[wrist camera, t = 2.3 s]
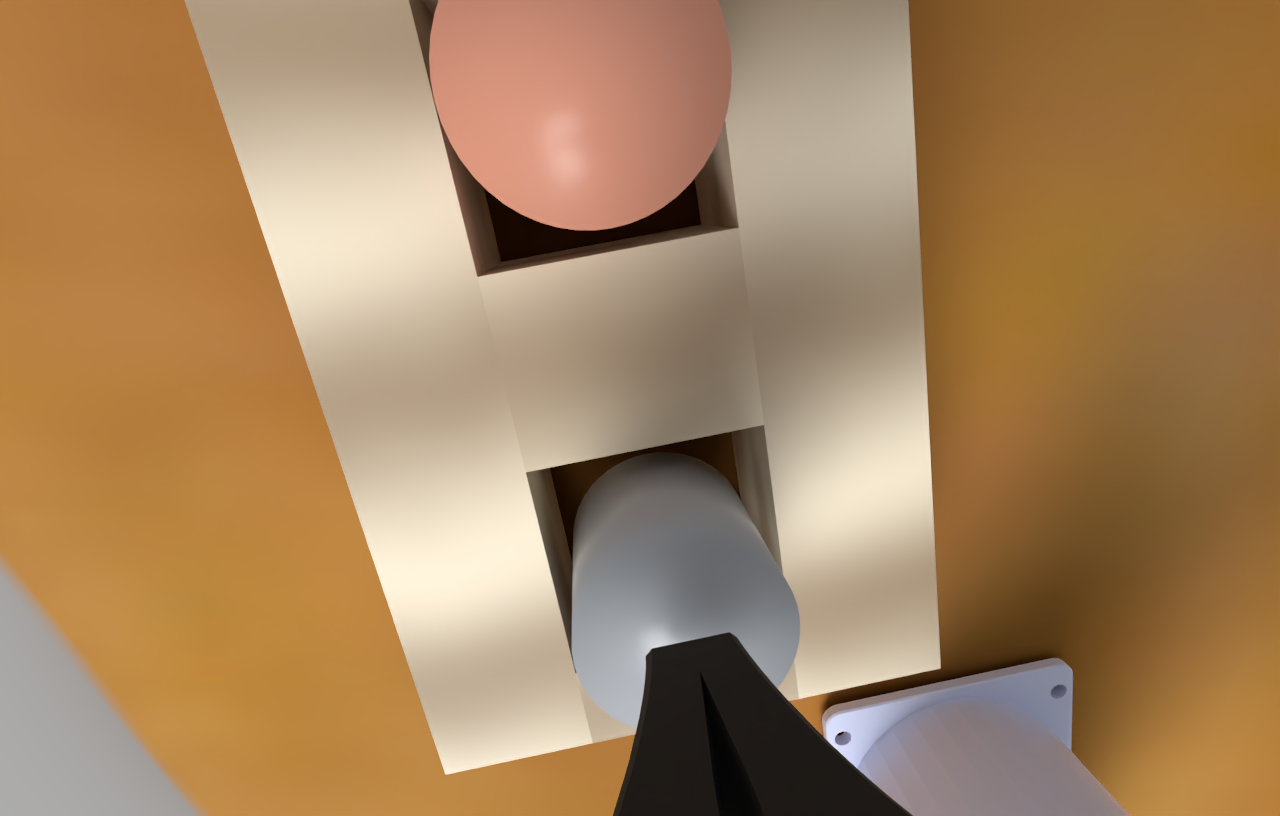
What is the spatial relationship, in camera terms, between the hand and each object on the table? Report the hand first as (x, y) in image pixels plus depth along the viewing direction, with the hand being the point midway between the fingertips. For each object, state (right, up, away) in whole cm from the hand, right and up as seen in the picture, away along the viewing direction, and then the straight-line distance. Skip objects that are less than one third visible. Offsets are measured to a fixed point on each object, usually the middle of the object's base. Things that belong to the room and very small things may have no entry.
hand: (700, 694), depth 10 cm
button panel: (-2, +7, +7) cm, 10 cm away
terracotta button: (-2, +10, +2) cm, 10 cm away
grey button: (0, +1, +5) cm, 5 cm away
